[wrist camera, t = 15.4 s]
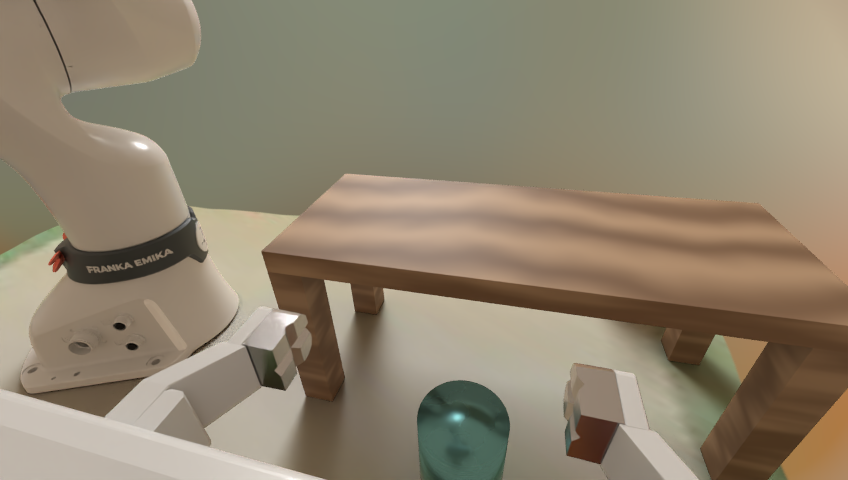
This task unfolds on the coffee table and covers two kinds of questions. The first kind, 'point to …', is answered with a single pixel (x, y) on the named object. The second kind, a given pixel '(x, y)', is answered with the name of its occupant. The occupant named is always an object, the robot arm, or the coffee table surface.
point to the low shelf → (587, 284)
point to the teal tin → (462, 433)
